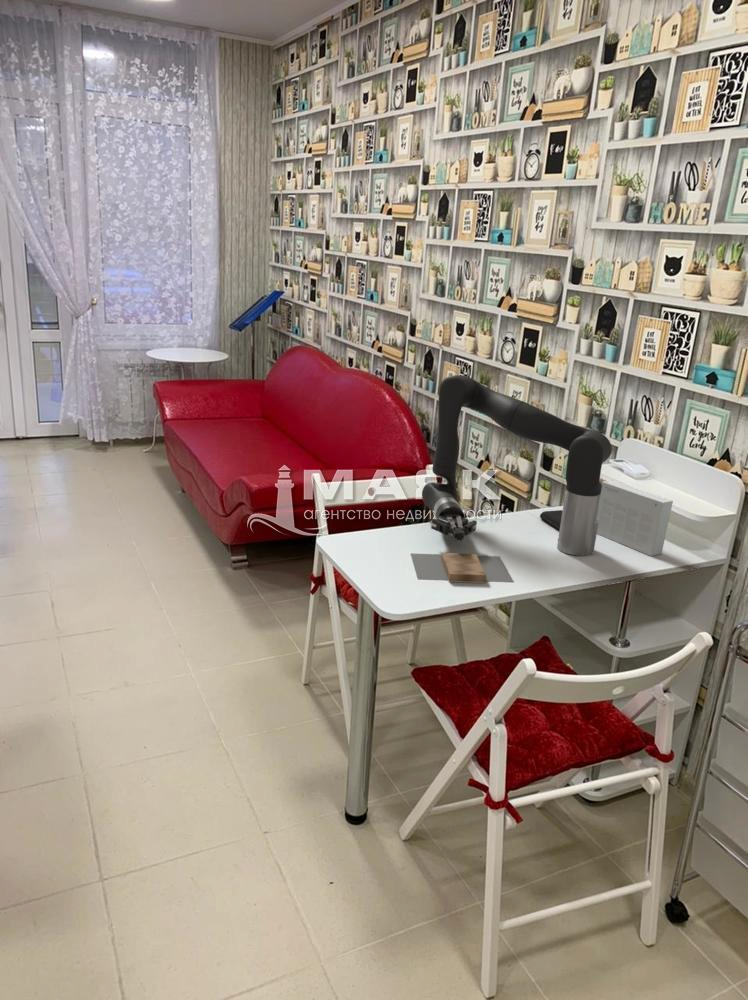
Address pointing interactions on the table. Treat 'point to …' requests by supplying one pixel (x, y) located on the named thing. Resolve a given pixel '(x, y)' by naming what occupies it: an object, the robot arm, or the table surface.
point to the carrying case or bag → (552, 518)
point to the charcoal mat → (434, 570)
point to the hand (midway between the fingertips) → (459, 536)
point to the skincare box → (633, 517)
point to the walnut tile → (463, 567)
